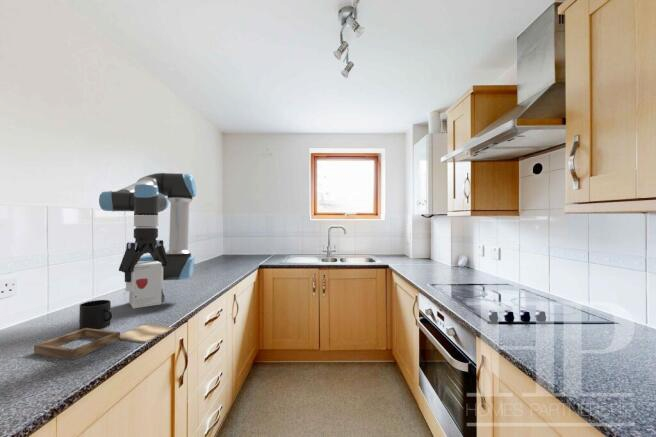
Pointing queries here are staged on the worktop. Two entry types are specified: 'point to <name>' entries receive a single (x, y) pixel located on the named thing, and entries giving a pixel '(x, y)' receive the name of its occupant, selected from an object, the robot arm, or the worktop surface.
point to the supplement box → (146, 284)
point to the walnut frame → (52, 345)
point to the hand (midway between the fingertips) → (145, 287)
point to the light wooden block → (145, 333)
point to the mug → (95, 314)
